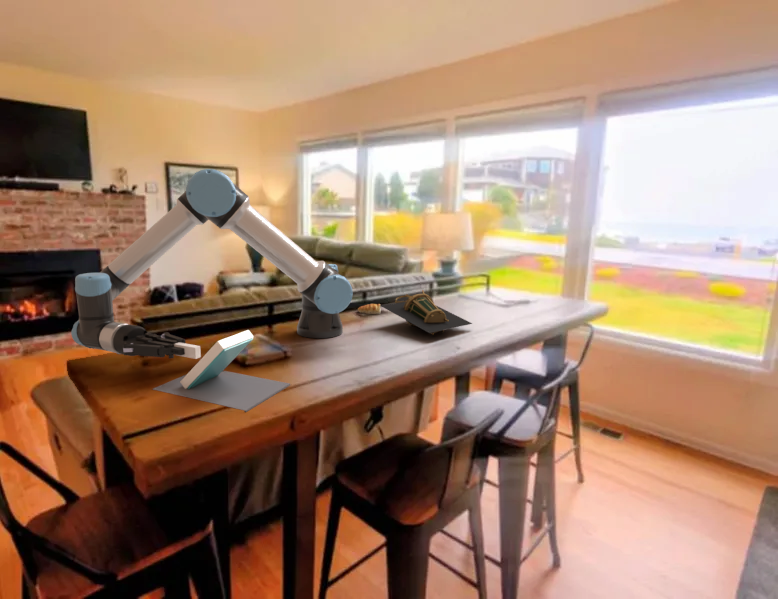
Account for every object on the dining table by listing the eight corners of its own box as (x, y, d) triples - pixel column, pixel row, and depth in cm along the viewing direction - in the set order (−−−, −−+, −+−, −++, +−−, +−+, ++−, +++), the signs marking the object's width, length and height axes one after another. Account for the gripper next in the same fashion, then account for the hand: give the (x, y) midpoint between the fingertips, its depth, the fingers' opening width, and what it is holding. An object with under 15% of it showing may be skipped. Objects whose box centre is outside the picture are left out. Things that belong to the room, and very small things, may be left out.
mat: (152, 390, 103) (151, 389, 103) (204, 368, 117) (204, 366, 117) (245, 412, 94) (245, 410, 93) (290, 385, 108) (290, 383, 108)
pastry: (357, 314, 181) (357, 305, 180) (358, 310, 187) (358, 301, 187) (381, 315, 181) (381, 305, 180) (381, 311, 187) (381, 302, 187)
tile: (180, 381, 103) (217, 341, 97) (212, 367, 112) (248, 329, 106) (186, 390, 103) (224, 350, 97) (218, 375, 112) (254, 338, 106)
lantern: (422, 353, 146) (364, 312, 166) (464, 346, 163) (407, 309, 182) (435, 315, 142) (375, 277, 161) (477, 312, 159) (418, 278, 178)
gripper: (148, 346, 121) (219, 359, 112) (102, 361, 109) (176, 377, 100) (146, 318, 119) (217, 330, 111) (98, 330, 108) (174, 344, 99)
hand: (198, 352), depth 106 cm, fingers closed
